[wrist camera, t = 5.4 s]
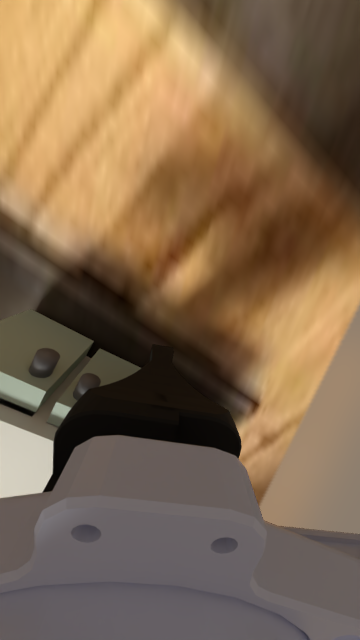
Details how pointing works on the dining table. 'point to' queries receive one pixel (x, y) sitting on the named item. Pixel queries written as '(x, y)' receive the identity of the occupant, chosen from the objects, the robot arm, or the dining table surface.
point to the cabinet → (33, 395)
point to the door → (91, 381)
